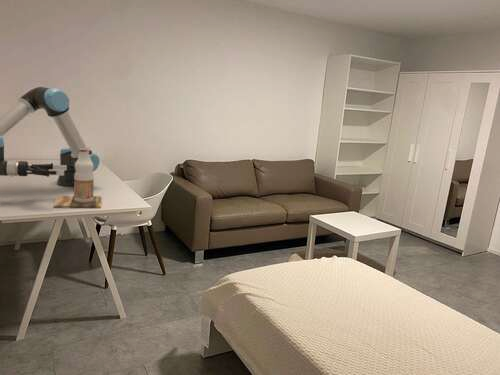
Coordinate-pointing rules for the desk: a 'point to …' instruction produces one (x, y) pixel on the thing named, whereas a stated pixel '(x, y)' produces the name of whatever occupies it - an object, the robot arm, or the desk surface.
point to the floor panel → (71, 203)
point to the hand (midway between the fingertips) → (65, 170)
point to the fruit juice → (83, 178)
